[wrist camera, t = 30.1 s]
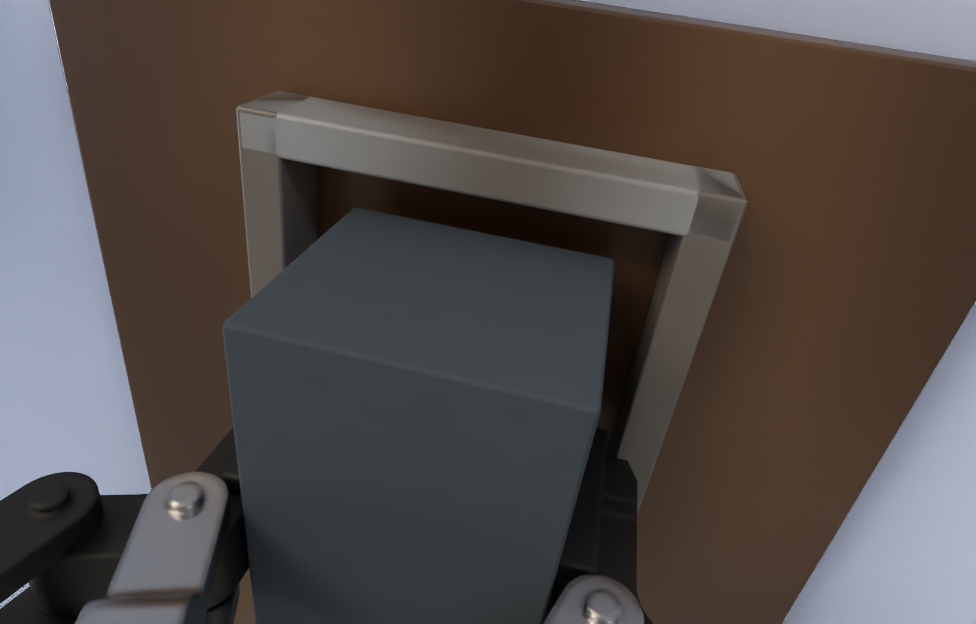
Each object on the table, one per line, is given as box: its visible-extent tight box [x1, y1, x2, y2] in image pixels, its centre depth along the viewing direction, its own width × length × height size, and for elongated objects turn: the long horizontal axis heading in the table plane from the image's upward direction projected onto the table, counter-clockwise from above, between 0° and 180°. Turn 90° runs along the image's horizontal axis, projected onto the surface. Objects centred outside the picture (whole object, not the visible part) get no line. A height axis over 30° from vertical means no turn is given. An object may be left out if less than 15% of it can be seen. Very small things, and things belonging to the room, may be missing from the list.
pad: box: [222, 207, 615, 624], centre depth 12 cm, size 5×9×4 cm, turn 172°
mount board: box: [48, 0, 976, 624], centre depth 17 cm, size 18×26×3 cm
